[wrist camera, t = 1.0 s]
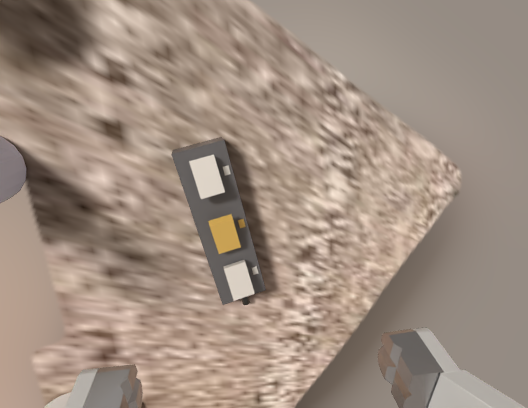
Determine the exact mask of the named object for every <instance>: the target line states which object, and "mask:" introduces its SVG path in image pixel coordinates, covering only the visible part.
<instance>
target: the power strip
mask: <svg viewBox="0 0 528 408" xmlns="http://www.w3.org/2000/svg"><path fill="white" fill-rule="evenodd" d="M210 155H214V157H215V160H216V164H217V167H218V170H219V174H220V177H221V180H222V184H223V187H224V190H225V192H224V193H221V194H217V195H214V196H211V197H207V198H204V199H201V198H200V195H199V192H198V188H197V185H196V182H195V179H194V176H193V172H192V169H191V166H190V163H189V161H192V160H196V159H199V158H203V157H207V156H210ZM172 157H173V160H174V163H175V166H176V169H177V171H178V174H179V177H180V180H181V183H182V186H183V189H184V192H185V195H186V198H187V201H188V204H189V207H190V210H191V213H192V216H193V219H194V222H195V225H196V227H197V230H198V233H199V236H200V239H201V242H202V245H203V248H204V251H205V254H206V257H207V260H208V263H209V266H210V269H211V272H212V275H213V278H214V280H215V283H216V286H217V289H218V292H219V295H220V298H221V301H222V304H223V305H224V304H227V303H230V302H233V301H234V300H233V297H232V294H231V290H230V287H229V284H228V281H227V278H226V274H225V271H224V267H223V266H227V265H230V264H233V263H236V262H239V261H242V260H245V263H246V266H247V269H248V273H249V276H250V279H251V283H252V286H253V289H254V293H255V294H256V293H259V292H262V291H265V290H266V289H265V285H264V281H263V278H262V274H261V271H260V267H259V263H258V260H257V256H256V253H255V249H254V245H253V242H252V238H251V235H250V231H249V227H248V224H247V220H246V216H245V213H244V209H243V206H242V202H241V198H240V195H239V191H238V188H237V184H236V180H235V177H234V173H233V170H232V166H231V162H230V159H229V155H228V152H227V148H226V144H225V141H224V139H223V138H222V137H220V138H216V139H212V140H209V141H205V142H201V143H197V144H194V145H190V146H186V147H183V148H179V149H175V150H173V152H172ZM230 214H231V215H232V218H233V221H234V225H235V228H236V232H237V235H238V239H239V242H240V246H241V247H240V248H237V249H234V250H230V251H227V252H224V253H221V254H219V253H218V250H217V247H216V244H215V241H214V238H213V235H212V232H211V229H210V226H209V222H208V221H210V220H213V219H216V218H220V217H223V216H226V215H230ZM252 295H253V294H252ZM249 296H250V295H249ZM241 299H242V303H243V305H248V304H249V303H250V301H249V297H248V296H247V297H244V298H241ZM238 300H239V299H238ZM235 301H236V300H235Z"/></svg>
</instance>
